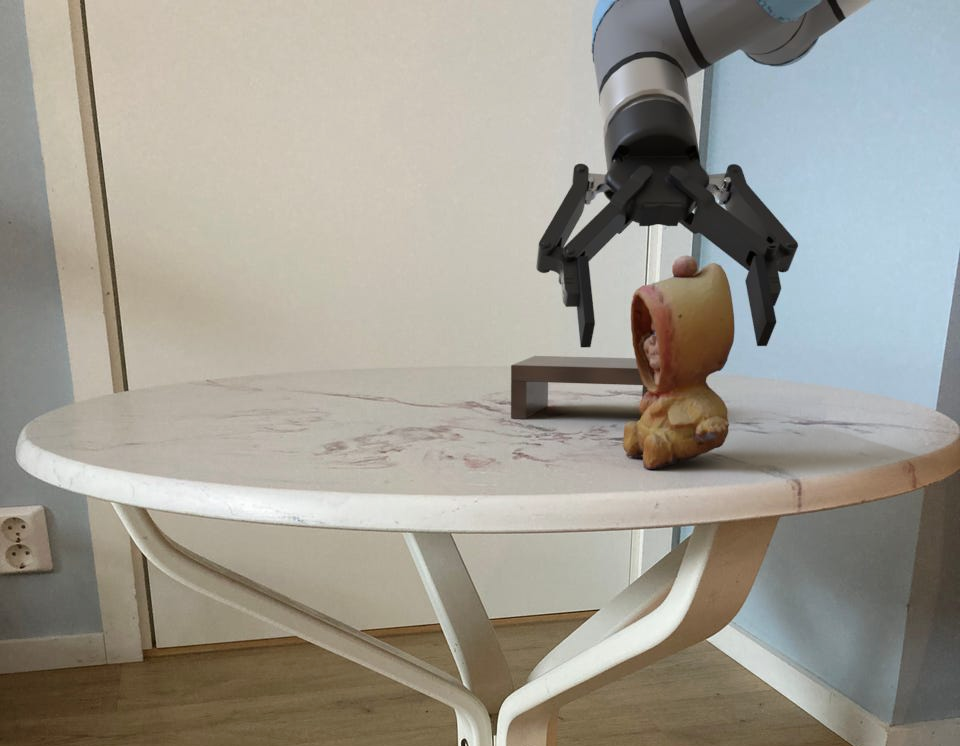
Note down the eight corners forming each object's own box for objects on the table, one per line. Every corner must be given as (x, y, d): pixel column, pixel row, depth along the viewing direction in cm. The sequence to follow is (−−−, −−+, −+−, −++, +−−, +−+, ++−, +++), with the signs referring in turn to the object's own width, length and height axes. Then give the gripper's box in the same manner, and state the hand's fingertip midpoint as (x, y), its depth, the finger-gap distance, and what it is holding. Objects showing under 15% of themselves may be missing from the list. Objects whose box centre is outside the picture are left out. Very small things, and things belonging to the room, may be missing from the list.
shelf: (670, 410, 110) (672, 359, 108) (656, 424, 102) (659, 369, 100) (533, 405, 114) (534, 355, 112) (510, 418, 106) (510, 365, 104)
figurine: (607, 452, 89) (614, 254, 84) (694, 447, 90) (706, 254, 85) (655, 476, 80) (666, 256, 74) (751, 471, 81) (768, 255, 76)
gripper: (783, 170, 96) (824, 365, 87) (497, 170, 95) (509, 368, 86) (809, 95, 89) (857, 299, 80) (501, 94, 88) (515, 300, 79)
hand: (677, 335), depth 83 cm, fingers open, 13 cm apart
